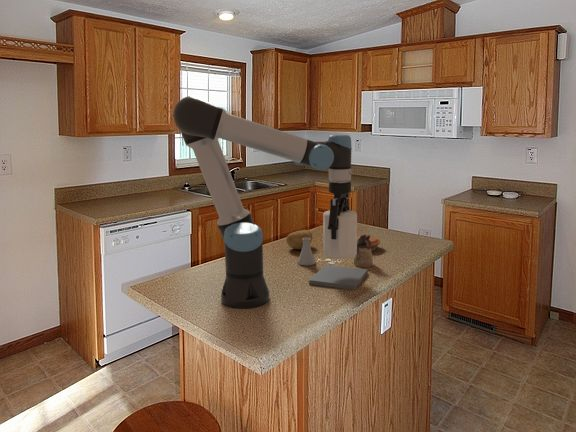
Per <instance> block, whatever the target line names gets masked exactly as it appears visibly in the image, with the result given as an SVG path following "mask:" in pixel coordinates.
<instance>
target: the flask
mask: <svg viewBox="0 0 576 432" xmlns="http://www.w3.org/2000/svg"><path fill="white" fill-rule="evenodd" d="M310 240H311V239H310V238H303V248H302V249H301V252H300V255H299V256H298V257H299V258H298V260H297V264H298V265H299V266H304V267H305V266H314V265H315V264H317V262H316V259H315V257H314V254H313V252H312V248H311V243H310Z"/></svg>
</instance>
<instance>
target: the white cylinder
mask: <svg viewBox="0 0 576 432" xmlns="http://www.w3.org/2000/svg"><path fill="white" fill-rule="evenodd" d="M329 216H330V209H329V210H326V211H324V212H323V214H322V240H323V241H322V244H323V245H322V251H323V252H322V253H323V255H324V256H325V257H328V258H331V259H349V258H353V257H354V258H355V255H356V254H357V235H358V213H357V212H356V211H355V210H351V209H350V210H347V211H342V212H341V214H340V216H338V217H337V219H339V225H338V229H339V249H335V248H331V229H328V225H329Z"/></svg>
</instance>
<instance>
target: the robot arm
mask: <svg viewBox="0 0 576 432" xmlns="http://www.w3.org/2000/svg"><path fill="white" fill-rule="evenodd" d="M172 116H173V121H174V124H175V125H176V128H177V129H178V130H179V131H180V134H181V136H182V139H183V140H184V141H183V142H184V144H185V146H187V147H188V148H191V149H192V151H193V153H194V154H193V155H194V156H195V159H196V162H197V165H198V166H199V169H200V171H201V174H202V176H203V180H204V181H205V184H206V187H207V189H208V192H209V194H210V197H211V200H212V202H213V205H214V208H215V210H216V212H217V215H218V219H217V222H216V226H217V228H218V231H219V233H220V236H221V238H222V240H223V244H224V245H223V247H224V261H225V279H224V282H223V286H222V289H221V293H220V297H221V299H220V300H221V301H220V302H221V303H222V304H223V305H225V306H227V307H231V308H235V309H251V308H257V307H260V306H263V305H265V304H266V303H268V302H269V301H270V289H269V287H268V283H267V282H266V279H265V276H264V253H263V252H264V251H263V249H264V248H263V241H264V235H263V232H262V231H263V230H262V228H261V227H260V226H259V225H257V224H255V222H254V220H253V216H252V214H251V212H250V210H248V209H246V208H244V205H243V203H242V200H241V198H240V195H239V191H238V190H237V188H236V184H235V181H234V179H233V177H232V173H231V171H230V169H229V166H228V163H227V160H226V158H225V155H224V153H223V149H222V147H221V144H220V142H219V141H220V140H219V139H222V140H223V141H228V142H230V143H234V144H237V145H239V146H240V145H241V146H244V147H246V148H251V149H254V150H257V151H259V152H263V153H266V154H270V155H271V156H276V157H279V158H283V159H285V160H289V161H291V162H293V163H294V164H295V165H296V166H307V167H311V168H313V169H314V170H318V171H323V170H324V171H325V170H327V169H328V180H329V182H328V192H329V193H330V194H333V195H334V196H333V198H330V205H329V206H330V208H329V210H330V216H329V225H328V229H331V248H335V249H339V229H338V225H339V219H337V217H338V216H340V214H341V212H342V211H347V210H351V209H350V199H349V198H350V193H351V192H352V182H351V180H352V175H353V172H354V171H352V150H353V148H352V138H351V136H350V135H349V134H331V135H328V140H326V141H325V140H324V141H313V140H311V139H306V138H304V137H302V136H298V135H295V134H292V133H288V132H287V131H282V130H279V129H276V128H273V127H271V126H267V125H264V124H261V123H259V122H256V121H252V120H249V119H246V118H243V117H241V116H237V115H234V114H230V113H228V112H227V111H226V109H225V108H224V107H222V106H217V105H215V104H213V103H211V102H209V101H207V100H205V99H204V98H203V97H199V96H197V95H189V96H185V97H183V98H182V99H180V100H179V101H178V102H177V103H176V104H175V106H174V109H173V115H172Z"/></svg>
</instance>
